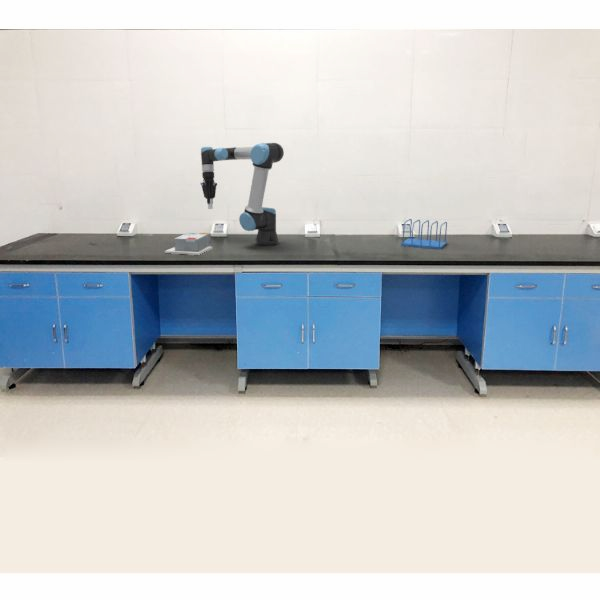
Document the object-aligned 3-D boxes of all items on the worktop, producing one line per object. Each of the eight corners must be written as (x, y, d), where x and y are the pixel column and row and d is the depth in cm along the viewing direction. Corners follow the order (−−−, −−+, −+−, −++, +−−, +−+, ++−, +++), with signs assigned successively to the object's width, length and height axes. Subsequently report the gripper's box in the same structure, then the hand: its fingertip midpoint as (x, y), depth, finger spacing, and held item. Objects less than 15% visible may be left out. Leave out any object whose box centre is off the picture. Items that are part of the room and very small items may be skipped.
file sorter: (400, 246, 372) (402, 221, 368) (408, 241, 387) (410, 217, 382) (440, 249, 361) (442, 225, 357) (446, 244, 376) (448, 220, 372)
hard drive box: (210, 232, 366) (198, 239, 347) (211, 245, 368) (199, 251, 349) (186, 232, 369) (173, 238, 350) (187, 244, 371) (174, 251, 352)
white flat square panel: (212, 248, 364) (212, 246, 364) (198, 255, 346) (198, 253, 345) (180, 246, 370) (180, 244, 370) (164, 253, 352) (164, 251, 351)
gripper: (211, 172, 385) (213, 209, 388) (196, 171, 375) (199, 209, 377) (219, 171, 381) (221, 208, 383) (204, 170, 370) (207, 208, 373)
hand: (210, 208), depth 380 cm, fingers closed
